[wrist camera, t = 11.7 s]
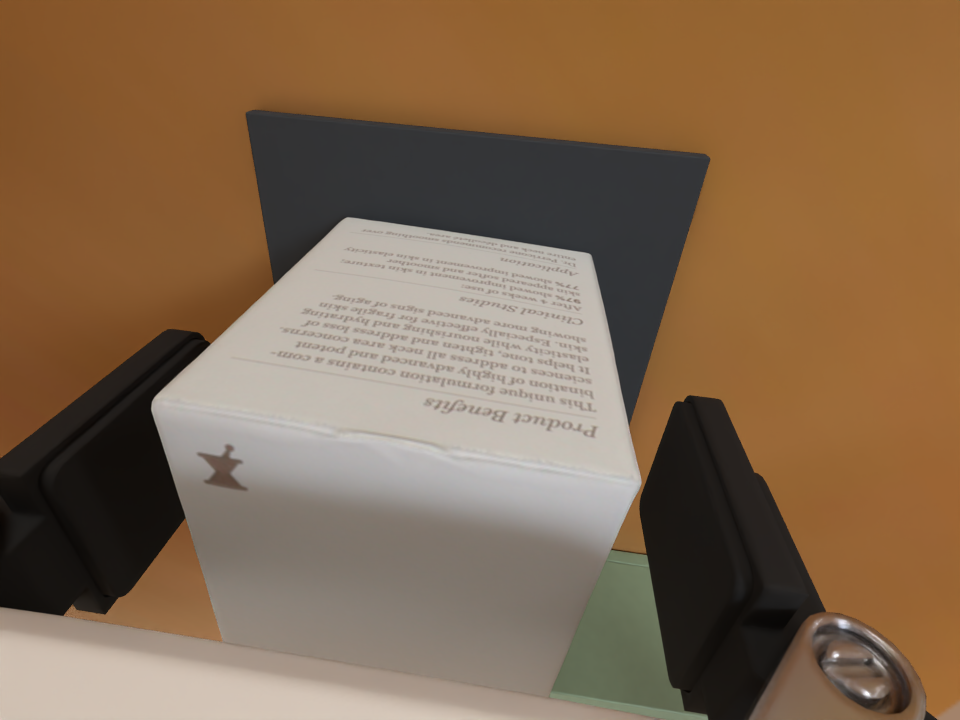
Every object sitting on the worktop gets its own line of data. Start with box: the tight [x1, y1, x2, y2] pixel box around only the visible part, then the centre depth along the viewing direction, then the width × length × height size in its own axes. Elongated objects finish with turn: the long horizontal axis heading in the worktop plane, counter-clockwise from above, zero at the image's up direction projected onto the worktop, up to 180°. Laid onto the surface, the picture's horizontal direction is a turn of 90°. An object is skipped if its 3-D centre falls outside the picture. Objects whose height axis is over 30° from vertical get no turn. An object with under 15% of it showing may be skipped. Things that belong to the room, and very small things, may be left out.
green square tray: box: [549, 550, 708, 720], centre depth 20 cm, size 14×14×5 cm
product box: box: [151, 217, 641, 697], centre depth 11 cm, size 6×6×7 cm
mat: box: [246, 110, 710, 425], centre depth 14 cm, size 10×10×1 cm
